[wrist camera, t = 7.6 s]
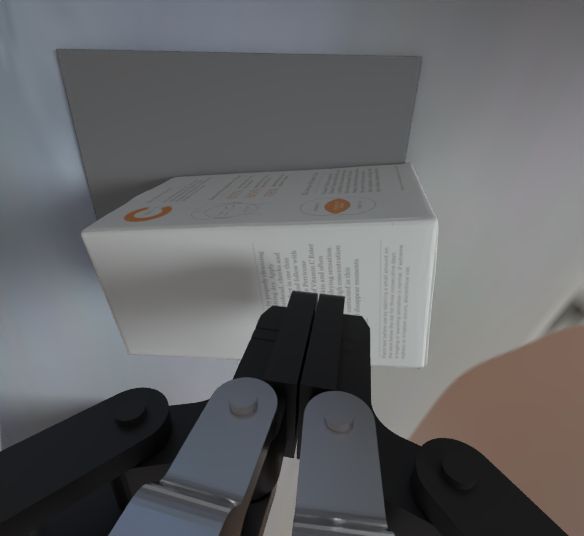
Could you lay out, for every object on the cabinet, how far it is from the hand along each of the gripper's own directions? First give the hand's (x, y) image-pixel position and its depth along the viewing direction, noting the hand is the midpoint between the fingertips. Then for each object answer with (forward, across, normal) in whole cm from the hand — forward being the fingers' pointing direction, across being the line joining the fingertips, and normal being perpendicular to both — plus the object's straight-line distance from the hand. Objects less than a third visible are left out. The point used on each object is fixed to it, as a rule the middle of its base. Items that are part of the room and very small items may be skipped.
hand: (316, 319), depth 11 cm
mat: (+11, +6, 0) cm, 13 cm away
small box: (+6, -4, +1) cm, 8 cm away
